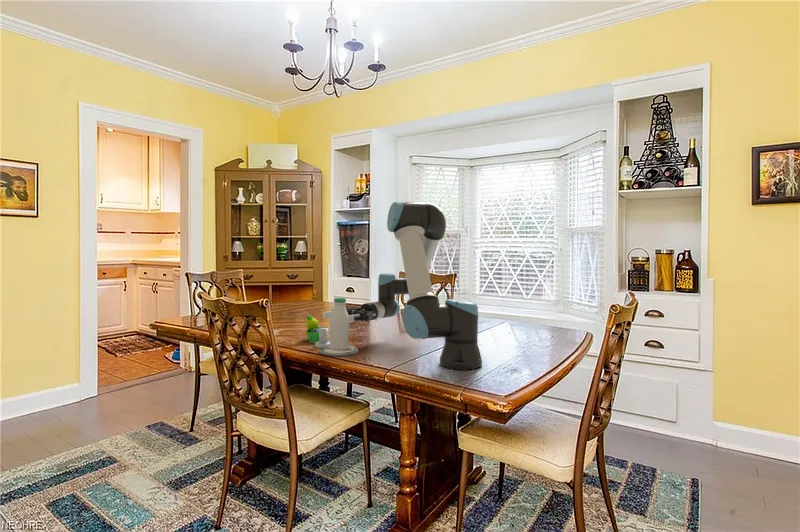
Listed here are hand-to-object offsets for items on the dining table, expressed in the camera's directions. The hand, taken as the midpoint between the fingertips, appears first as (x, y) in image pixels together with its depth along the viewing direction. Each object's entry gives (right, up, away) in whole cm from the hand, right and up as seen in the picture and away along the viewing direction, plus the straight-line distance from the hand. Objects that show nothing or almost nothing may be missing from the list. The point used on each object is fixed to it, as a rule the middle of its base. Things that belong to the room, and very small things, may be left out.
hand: (334, 317), depth 178 cm
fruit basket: (-12, -13, +23) cm, 29 cm away
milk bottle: (+1, -13, +3) cm, 13 cm away
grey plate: (+1, -14, +3) cm, 14 cm away
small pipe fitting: (-7, -13, +12) cm, 19 cm away
